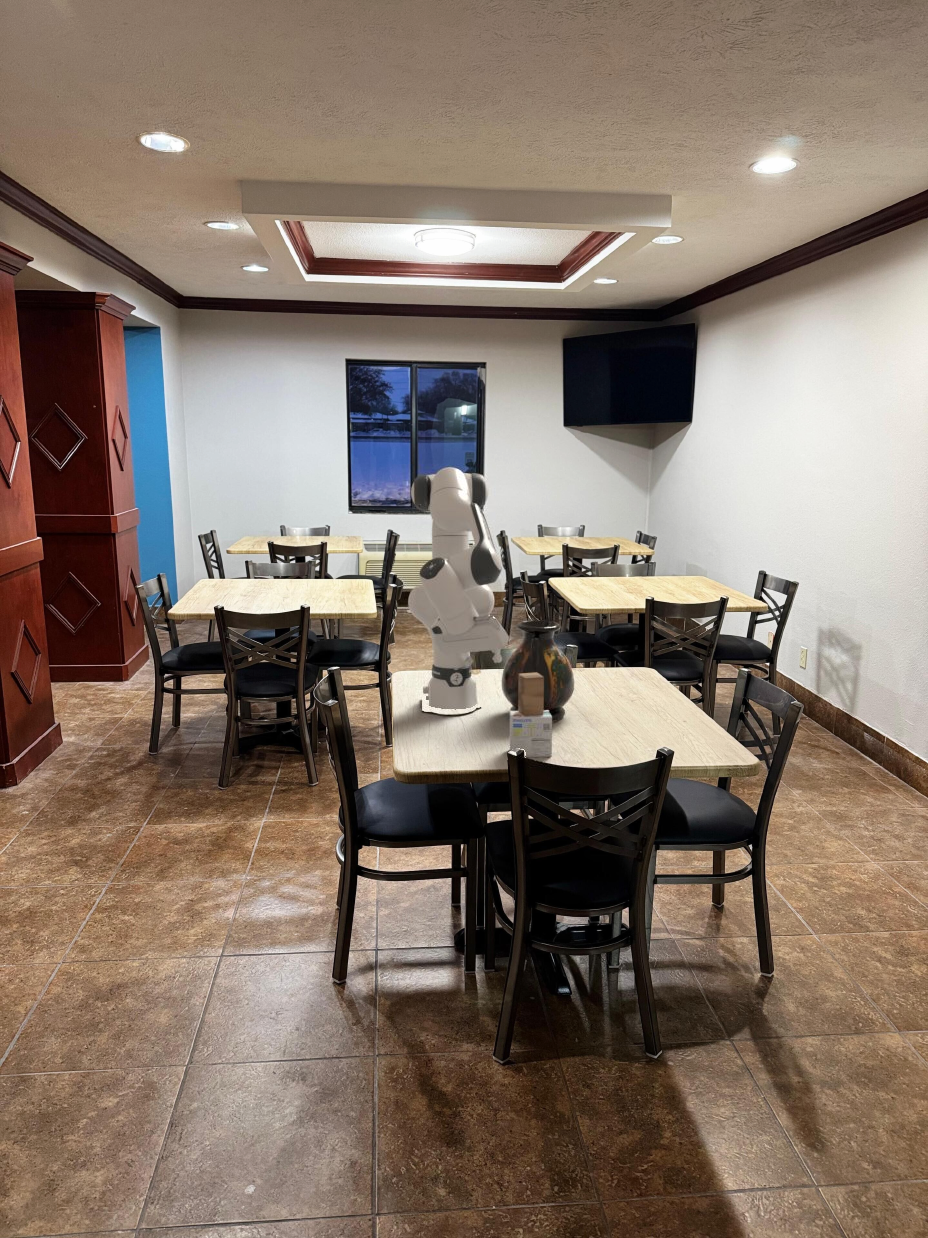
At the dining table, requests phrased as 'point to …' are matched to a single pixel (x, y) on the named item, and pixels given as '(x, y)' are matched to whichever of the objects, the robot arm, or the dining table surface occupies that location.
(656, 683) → the dining table surface
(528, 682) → the walnut block
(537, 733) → the light bulb box
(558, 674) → the dark painted vase
